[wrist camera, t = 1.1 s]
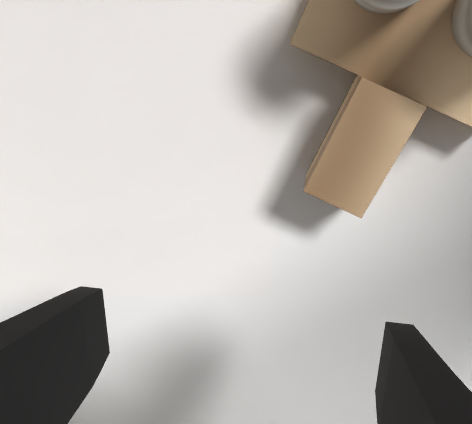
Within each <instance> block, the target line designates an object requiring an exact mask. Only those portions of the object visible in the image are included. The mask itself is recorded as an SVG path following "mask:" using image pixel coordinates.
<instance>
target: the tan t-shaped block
mask: <svg viewBox="0 0 472 424" xmlns="http://www.w3.org/2000/svg"><path fill="white" fill-rule="evenodd" d="M290 44H291V45H293V46H295V47H297V48H300V49H302V50H304V51H306V52H308V53H311V54H313V55H315V56H317V57H319V58H322V59H324V60H326V61H328V62H330V63H333V64H335V65H337V66H339V67H341V68H344V69H346V70H348V71H350V72H352V73H355V74H357V75H356V77H355V79H354V81H353V83H352V85H351V87H350V89H349V91H348V93H347V95H346V97H345V99H344V101H343V103H342V105H341V107H340V109H339V111H338V113H337V115H336V117H335V119H334V121H333V123H332V125H331V127H330V129H329V130H328V132H327V134H326V136H325V138H324V140H323V142H322V144H321V146H320V148H319V150H318V152H317V154H316V156H315V158H314V160H313V162H312V164H311V166H310V168H309V170H308V172H307V174H306V180H305V185H304V192H306V193H308V194H310V195H312V196H315V197H317V198H319V199H321V200H323V201H325V202H327V203H330V204H332V205H334V206H336V207H338V208H340V209H342V210H345V211H347V212H349V213H351V214H353V215H355V216H357V217H360V218H362V216H363V215H364V213H365V211H366V210H367V208H368V206H369V205H370V203H371V201H372V199H373V198H374V196H375V194H376V193H377V191H378V189H379V188H380V186H381V184H382V183H383V181H384V179H385V177H386V176H387V174H388V172H389V171H390V169H391V167H392V166H393V164H394V162H395V161H396V159H397V157H398V155H399V154H400V152H401V150H402V149H403V147H404V145H405V144H406V142H407V140H408V138H409V137H410V135H411V133H412V132H413V130H414V128H415V127H416V125H417V123H418V122H419V120H420V118H421V116H422V115H423V113H424V111H425V110H426V108H427V107H429V108H432V109H434V110H436V111H438V112H440V113H443V114H445V115H447V116H449V117H451V118H454V119H456V120H458V121H460V122H462V123H465V124H467V125H469V126H471V127H472V0H308V3H307V5H306V7H305V10H304V12H303V14H302V17H301V19H300V21H299V24H298V26H297V28H296V30H295V33H294V35H293V37H292V40H291V42H290ZM422 104H423V105H422ZM424 105H425V106H424ZM426 106H427V107H426Z"/></svg>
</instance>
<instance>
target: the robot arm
mask: <svg viewBox="0 0 472 424" xmlns="http://www.w3.org/2000/svg"><path fill="white" fill-rule="evenodd" d="M109 353H110V352H109V343H108V334H107V326H106V317H105V308H104V299H103V291H102V289H99V288H90V287H82V286H81V287H78V288H76V289H73V290H70V291H68V292H66V293H63V294H61V295H59V296H57V297H54V298H52V299H50V300H48V301H46V302H44V303H42V304H39V305H37V306H35V307H33V308H31V309H29V310H27V311H25V312H22V313H20V314H18V315H16V316H14V317H12V318H10V319H7V320H5V321H3V322H1V323H0V424H68V422H69V421H70V419H71V418H72V416H73V415H74V413H75V412H76V410H77V409H78V408H79V406H80V405H81V403H82V402H83V400H84V399H85V397H86V396H87V394H88V393H89V391H90V390H91V388H92V387H93V385H94V383H95V381H96V379H97V377H98V375H99V373H100V372H101V370H102V367H103V365H104V363H105V361H106V359H107V357H108V355H109ZM375 394H376V410H377V423H378V424H472V392H471V391H470V390H469V389H468V388H467V387H466V386H465V385H464V383H463V382H462V381H461V380H460V379H459V378H458V377H457V376H456V375H455V374H454V372H453V371H452V370H451V369H450V368H449V367H448V366H447V364H446V363H445V362H444V361H443V360H442V358H441V357H440V356H439V355H438V354H437V353H436V351H435V350H434V349H433V348H432V347H431V345H430V344H429V343H428V342H427V341H426V339H425V338H424V337H423V336H422V335H421V333H420V332H419V331H418V330H417V329H416V328H415V326H414V325H410V324H402V323H393V322H386V324H385V330H384V337H383V343H382V350H381V357H380V363H379V370H378V376H377V383H376V390H375Z"/></svg>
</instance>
